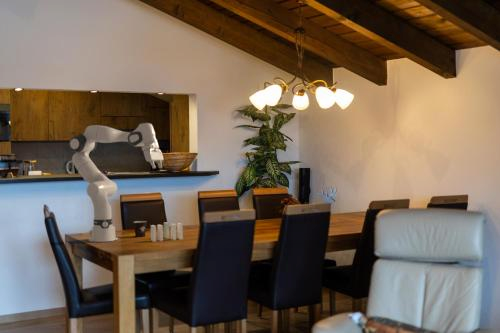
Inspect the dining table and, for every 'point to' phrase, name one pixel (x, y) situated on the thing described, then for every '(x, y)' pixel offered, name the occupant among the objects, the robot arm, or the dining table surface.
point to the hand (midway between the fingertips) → (157, 168)
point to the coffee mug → (140, 228)
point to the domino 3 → (166, 230)
